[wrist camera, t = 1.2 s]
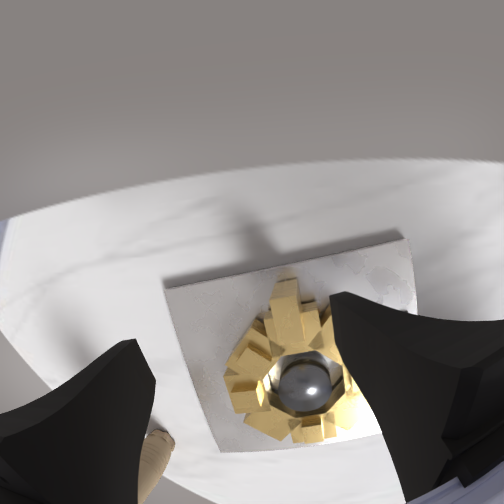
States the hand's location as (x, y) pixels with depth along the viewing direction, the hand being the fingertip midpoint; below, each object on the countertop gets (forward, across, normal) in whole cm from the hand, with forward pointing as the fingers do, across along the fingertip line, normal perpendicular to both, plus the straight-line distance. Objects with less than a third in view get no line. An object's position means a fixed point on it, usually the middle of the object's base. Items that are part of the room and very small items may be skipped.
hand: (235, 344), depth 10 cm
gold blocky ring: (+10, -3, +10) cm, 14 cm away
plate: (+11, -3, +11) cm, 16 cm away
